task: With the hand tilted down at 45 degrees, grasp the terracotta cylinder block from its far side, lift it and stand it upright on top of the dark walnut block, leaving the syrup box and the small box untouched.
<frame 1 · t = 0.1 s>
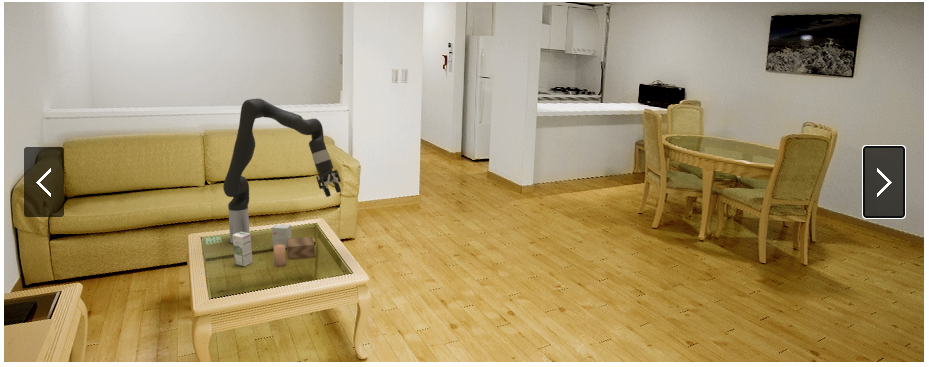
hand: (333, 194, 284), 31 cm above the table, tool tilted 20°, fingers open, 8 cm apart
walnut block: (300, 253, 296), on the table
syrup box: (243, 264, 282), on the table
small box: (282, 246, 306), on the table
terracotta cylinder: (280, 264, 282), on the table
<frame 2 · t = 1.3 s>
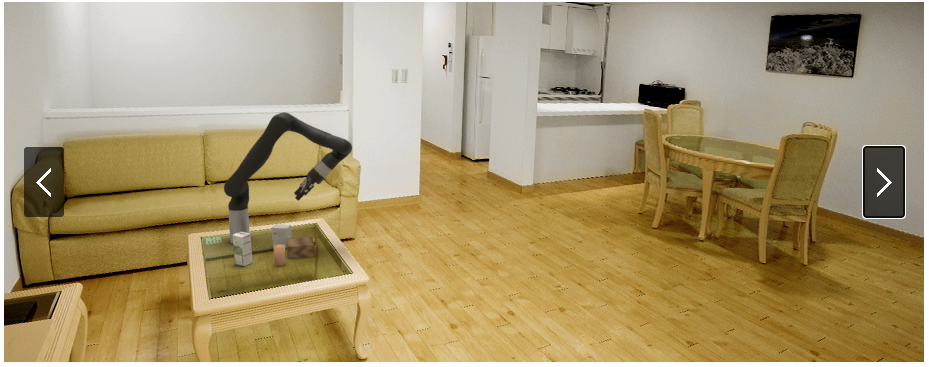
hand: (296, 197, 290), 28 cm above the table, tool tilted 45°, fingers open, 8 cm apart
nothing on the table moved.
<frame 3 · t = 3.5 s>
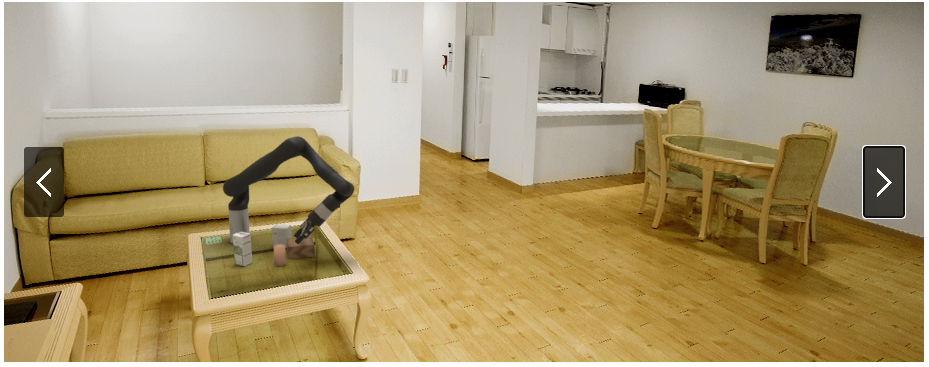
hand: (295, 239, 282), 11 cm above the table, tool tilted 45°, fingers open, 8 cm apart
nothing on the table moved.
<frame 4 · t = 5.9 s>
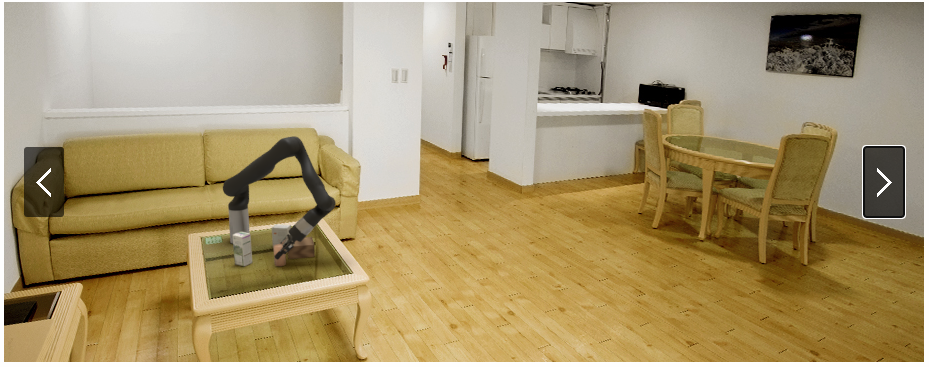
hand: (275, 256, 280), 4 cm above the table, tool tilted 45°, fingers closed on terracotta cylinder, 5 cm apart
terracotta cylinder: (280, 264, 282), on the table, touching gripper
everything else where it was.
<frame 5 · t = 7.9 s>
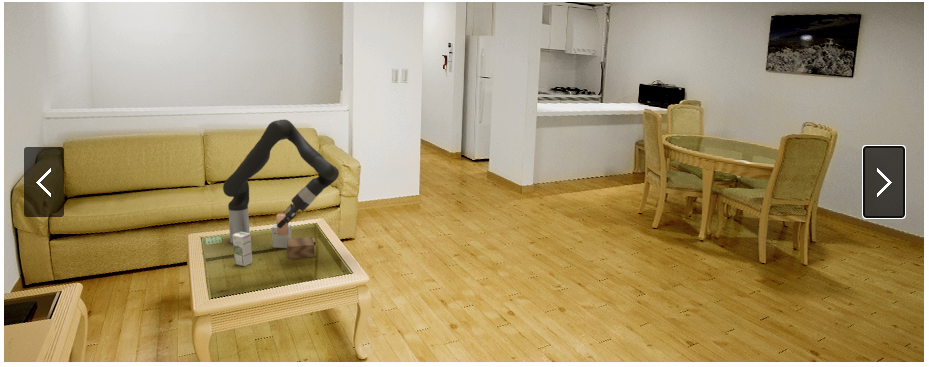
hand: (278, 225, 280), 18 cm above the table, tool tilted 45°, fingers closed on terracotta cylinder, 5 cm apart
terracotta cylinder: (283, 233, 282), point 14 cm above the table, touching gripper
everything else where it was.
when the fingers open (12 cm above the table, at t = 10.3 s): terracotta cylinder drops 1 cm, resting on walnut block.
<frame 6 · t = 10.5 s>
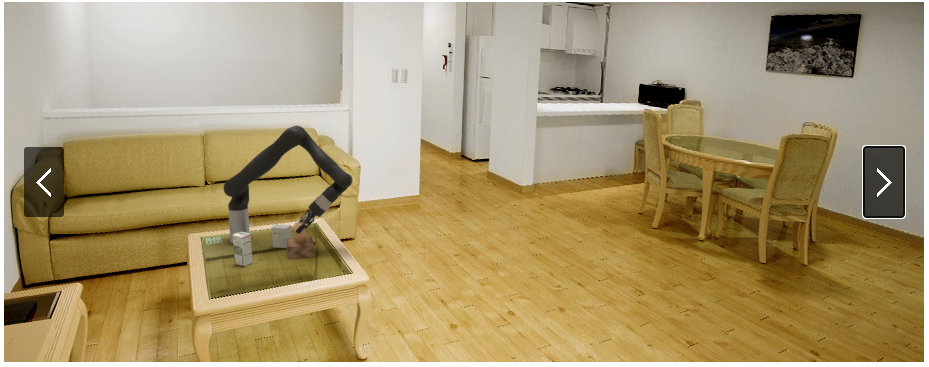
hand: (296, 230, 293), 12 cm above the table, tool tilted 45°, fingers open, 7 cm apart
terracotta cylinder: (300, 241, 295), point 6 cm above the table, touching walnut block
everything else where it was.
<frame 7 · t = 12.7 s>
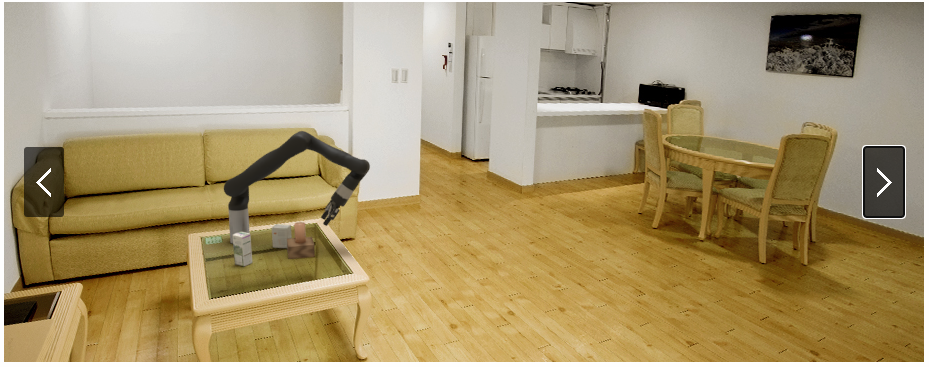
hand: (323, 221, 297), 15 cm above the table, tool tilted 35°, fingers open, 8 cm apart
nothing on the table moved.
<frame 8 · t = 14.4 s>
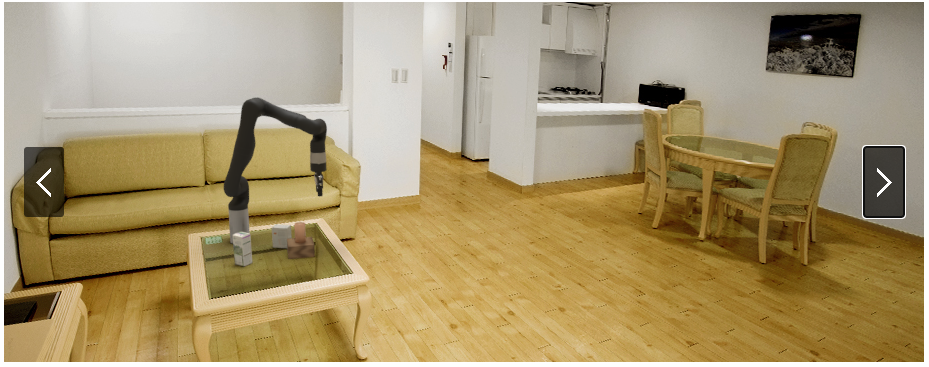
hand: (319, 194, 296), 28 cm above the table, tool pointing down, fingers open, 8 cm apart
nothing on the table moved.
at the end: terracotta cylinder inside the target area on the walnut block (0.1 cm from its centre), point 6.0 cm above the walnut block's base; terracotta cylinder tilted 0°; terracotta cylinder touching walnut block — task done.
